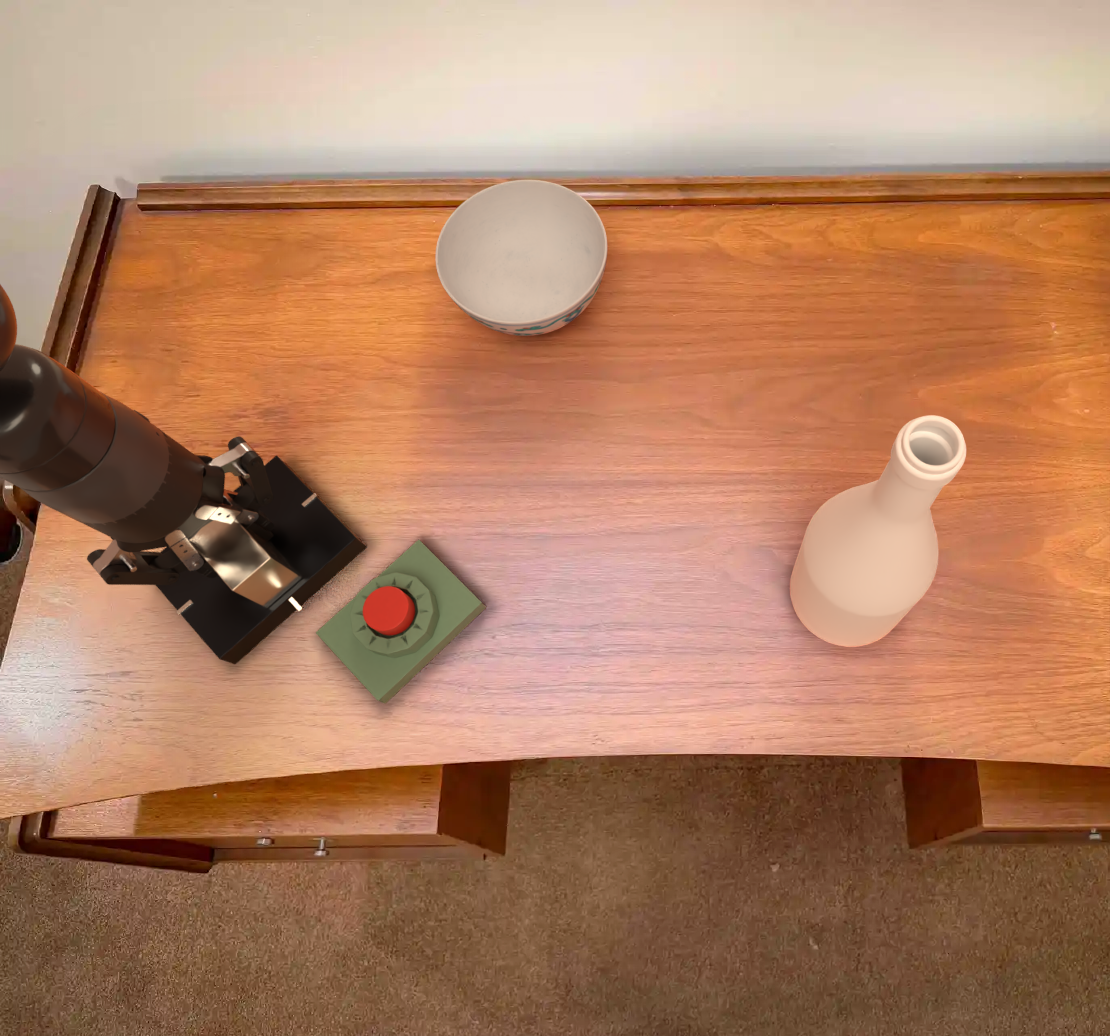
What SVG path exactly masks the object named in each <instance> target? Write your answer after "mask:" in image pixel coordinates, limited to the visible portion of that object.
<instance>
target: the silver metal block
mask: <svg viewBox="0 0 1110 1036" xmlns="http://www.w3.org/2000/svg"><path fill="white" fill-rule="evenodd" d="M189 542H190V543H191V544H192V545H193V547H194V548H195V549H196V550H197V551H198V552H199V553H200V554H201V556H202V557H203V558H204V559H205V560H206V561H207V562H208V564H209V565H210V566H211V567H212V568H213V569H214V570H215V572H216V573H217V574H218V575H219V576H220V577H221V578H222V580H223V581H224V582H225V583H226V584H227V585H228V586H229V588H230V589H231V590H232V591H234V592H236V593H238V594H240V595H242V596H244V597H246V598H248V599H250V600H252V601H254V602H256V603H258V604H260V605H261V606H263V607H265V608H268V607H269V606H270V605H271V604H273V603H274V602H275V601H276V600H277V599H278V598H279V597H281V596H282V595H283V594H284V593H285V592H286V591H287V590H289V589H290V588H291V587H292V586H293V585H294V584H296V583H297V582H298V581H299V580H300V579H301V578H302V577H301V576H300V575H299V573H298V572H297V571H296V570H295V569H294V568H293V567H292V566H291V565H290V564H289V562H288V561H287V560H286V559H285V558H284V557H283V556H282V555H281V554H280V553H279V552H278V550H277V549H276V548H275V547H274V546H273V545H272V544H271V543H270V542H269V541H266V540H264V539H262V538H261V537H259V536H258V535H256V534H255V533H253V532H252V531H250V530H249V529H247V528H246V527H245V526H244V525H243V523H238V522H233V523H232V524H228V523H224V522H220V521H215V520H213V521H212V522H210V523H209V524H207V525H205V526H204V527H202V528H201V529H200V530H199V531H198V533H197V534H196V535H195V536H194V537H193V538H191V539H190V540H189Z"/></svg>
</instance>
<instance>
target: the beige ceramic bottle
mask: <svg viewBox="0 0 1110 1036" xmlns="http://www.w3.org/2000/svg"><path fill="white" fill-rule="evenodd" d="M966 457H967V444H966V441H965V438H964V435H963V432H962V431H961V429H960V428H959V427H958V426H957V425H956V424H955V423H954V422H953V421H951V420H950V419H949V418H946V417H944V416H940V415H937V414H936V415H934V414H930V415H929V414H927V415H923V416H919V417H916V418H912V419H911V420H909V421H908V422H906V423H905V424H904V425H903V426H902V427H901V428H900V430H899V431H898V433H897V435H896V437H895V439H894V441H893V443H892V446H891V449H890V458H889V460H888V462H887V464H886V466H885V467H884V469H883V470H882V473H881V474H880V476H879V478H878V479H876V480H874V481H870V482H867V483H864V484H860V485H857V486H853V487H850V488H848V489H846V490H843V491H841V492H839V493H837V494H836V495H834V496H832V497H831V498H828V499H827V500H826V501H825V502H824V503H823V504H822V505H820V506H819V508H818V509H817V511H816V512H815V513H814V514H813V515H812V516H811V519H810V521H809V522H808V524H807V526H806V529H805V532H804V535H803V538H802V541H801V544H800V547H799V551H798V553H797V557H796V559H795V562H794V566H793V568H792V571H791V575H790V580H789V597H790V601H791V605H792V607H793V609H794V612H795V614H796V616H797V618H798V619H799V621H800V622H801V623H802V625H803V626H804V627H805V628H806V629H807V630H808V631H809V632H810V633H811V634H813V635H814V636H815V637H817V638H818V639H820V640H821V641H825V642H826V643H829V644H831V645H835V646H838V647H847V648H857V647H862V646H867V645H871V644H873V643H875V642H878V641H879V640H881V639H883V638H884V637H886V636H887V635H888V634H889V633H890V632H891V631H893V629H894V628H895V627H896V626H897V625H898V624H899V623H900V622H901V621H902V620H903V618H905V616H907V614H908V613H909V612H910V611H911V610H912V609H913V608H914V607H915V606H916V605H917V604H918V602H919V601H920V600H921V599H922V598H923V597H924V596H925V595H926V593H927V592H928V590H929V589H930V588H931V585H932V583H933V581H934V579H935V577H936V574H937V569H938V567H939V566H938V565H939V554H940V553H939V552H940V550H939V541H938V534H937V531H936V527H935V524H934V521H933V515H932V510H931V507H932V505H933V504H934V502H935V500H936V499H937V498H938V496H939V494H940V492H941V491H942V490H943V488H944V487H945V486H947V485H948V484H949V483H951V482H952V481H953V480H954V478H955V477H956V476H957V474H959V471H960V470H961V469H962V467H963V466H964V463H965V461H966Z"/></svg>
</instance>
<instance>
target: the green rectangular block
mask: <svg viewBox="0 0 1110 1036" xmlns="http://www.w3.org/2000/svg"><path fill="white" fill-rule="evenodd" d="M385 586H392V587H396V588H398V589H400V590H401V591H403V592H404V593H405V594H407V595H408V596H409V597H410V598H411V599H412V601H413V603H414V606H415V616H414V619H413V621H412V623H411V625H410V626H409V627H408V628H407V629H406V630H405V631H403V632H401V633H399V634H396V635H384V634H381V633H379V632H377V631H376V630H374V629H373V628H371V627H370V626H369V625H368V624H367V623H366V622H365V620H364V617H363V606H364V603H365V600H366V599H367V597H368V596H369V595H370V594H371V593H372V592H373V591H375V590H376V589H378V588H381V587H385ZM486 609H487V606H486V605H485V604H484V603H483V602H482V601H481V600H480V599H479V598H478V597H477V596H476V595H475V594H474V593H473V592H472V591H471V590H470V589H469V588H468V587H467V586H466V585H465V584H464V583H463V582H462V581H461V580H460V578H458V577H457V576H456V575H455V574H454V573H453V572H452V571H451V570H450V569H449V568H448V567H447V566H446V565H445V564H444V563H443V562H442V561H441V560H440V559H439V558H438V557H437V556H436V554H434V552H432V551H431V550H430V548H428V547H427V546H426V545H425V544H424V543H423V541H421V540H420V539H417V540H416V541H415V542H414V543H413V544H412V545H411V546H410V547H409V548H407V549H406V550H405V551H404V552H403V553H402V554H401V555H400V556H399V557H397V558H396V559H395V560H394V561H393V562H392V563H391V564H390V565H388V566H387V567H386V568H385V569H384V570H383V571H382V572H381V573H380V574H379V575H378V576H377V577H376V576H375V577H374V578H372V579H371V580H370V581H369V582H367V584H366V585H365V586H363V587H362V588H361V589H360V590H359V591H358V592H357V593H356V595H355V596H354V597H353V598H352V599H351V600H350V601H348V603H347V604H345V605H344V606H343V607H342V608H340V610H339V611H338V612H337V613H335V614H334V615H333V616H332V617H331V618H330V619H329V620H328V621H327V622H326V623H324V624H323V625H322V626H321V627H320V628H319V629H318V630H317V631H315V634H316V635H317V636H318V637H319V638H320V640H322V642H323V643H324V644H325V645H326V646H327V647H328V649H330V650H331V651H332V653H333V654H334V655H335V656H336V658H338V659H339V660H340V661H341V663H342V664H343V665H344V666H345V667H346V668H347V669H348V670H349V671H350V672H351V673H352V675H353V676H354V677H355V678H356V679H357V680H358V681H359V682H360V684H361V685H363V687H365V689H366V691H368V692H369V693H370V694H371V695H372V697H374V699H375V700H376V701H377V702H380V703H381V704H385V705H386V704H387V703H388V702H389V701H391V699H392V698H394V696H395V695H397V694H398V692H399V691H401V689H402V688H404V687H405V686H406V685H407V684H408V683H409V682H410V681H411V680H412V679H413V678H415V676H416V675H418V674H419V672H421V671H422V670H423V669H424V668H425V667H426V666H427V665H428V664H429V663H430V662H431V661H432V660H433V659H434V658H436V656H437V655H438V654H440V653H441V652H442V651H443V650H444V649H445V648H446V647H447V646H448V645H449V644H451V642H452V641H453V640H454V639H455V638H456V637H457V636H459V634H460V633H462V632H463V631H464V630H465V629H466V628H467V627H468V626H469V625H470V624H471V623H472V622H473V621H474V620H475V619H476V618H477V617H478V616H479V615H481V613H483V612H484V611H485V610H486Z"/></svg>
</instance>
